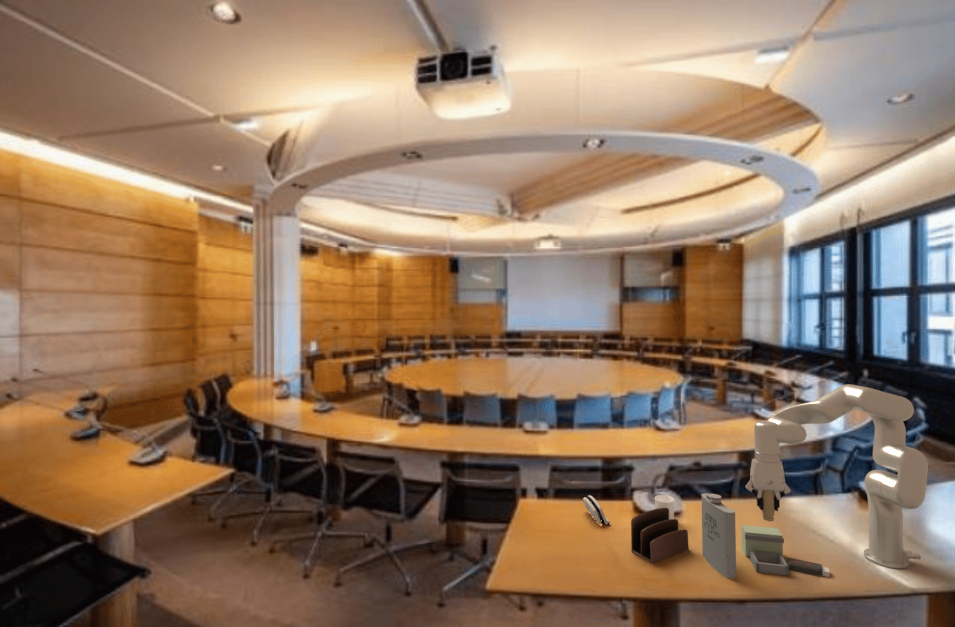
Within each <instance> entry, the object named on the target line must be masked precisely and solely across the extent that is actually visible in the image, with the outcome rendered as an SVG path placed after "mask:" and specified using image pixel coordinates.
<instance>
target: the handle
mask: <svg viewBox="0 0 955 627" xmlns="http://www.w3.org/2000/svg"><path fill="white" fill-rule="evenodd" d="M767 484H773V481H772V480H771V481H770V483H768V482H767ZM761 496H762V499H763V510H761V512H762V519H763V520H764V521H766V522H774V521H775V518H774V517H775V512H776V511H775V505H774V504H775V503H774V496H775V495H774V491H770V490H762V495H761Z"/></svg>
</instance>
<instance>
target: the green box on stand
mask: <svg viewBox="0 0 955 627" xmlns="http://www.w3.org/2000/svg"><path fill="white" fill-rule="evenodd" d="M783 536H784V535H783V534H782V533H781V531H780V530H779V529H778V528H777V527H766V526H755V525H745V524H742V525H741V549H742V552H743V554H744V556H745V557H747V558H749V560H750V561H751V565H752V566H753V567H754V570H755V572H757V573H762V572H763V573H764V574H772V575H781V576H790V570H789V566H788V564H787V562H786V561H787V560H786V559H785V558H784V548H783V546H784V545H783V544H784V543H785V538H784V537H783Z"/></svg>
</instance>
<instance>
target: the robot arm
mask: <svg viewBox="0 0 955 627" xmlns="http://www.w3.org/2000/svg"><path fill="white" fill-rule="evenodd" d="M854 410H855V411H859V412H862V413H863V412H864V413H867V415H869V417H870V419H871V420H872V421H873V425H874V438H873V445H872V446H873V447H872V459H873V461H874V462H875V463H876V464H877V465H878V466H880V467H882V468H885V469H887V470H890V471H893V472H896V473H897V474H895V473H893V472H890V471H887V470H883V469H873V470H870V471H868V473H866V475H865V476H864V487H865V489H864V490H865V492H866V495H867V504H868V505H867V506H868V548H865V549H864V550H863V556H864V557H865V558H866V559H867V560H868V559H869V561H870V562H872V563H874V564H876V563H877V565H880V566H883V567H887V568H891V569H907V568H909V567H910V560H911V559H912V560H921V559H922V557H921V554H920V553H917V552H912V551H913V550H907V549H904V514H903V508H905V509H906V510H907V509H908V510H916V509H919V507H921V506H922V505H923V503H924V502H925V499H926V492H927V482H928V472H929V464H928V463H929V462H928V460H927V458H926V456H925V455H924V454H923V453H922V452H921V451H919V450H918V449H916V448H913V447H910V446H907V445H906V435H907V432H906V431H907V430H906V425H905V421H908V420H909V419H911V418H912V416H914V412H915V408H914V406H913V403H912V402H911V401H910V400H909V399H908V398H906V397H903V396H899V395H897V394H893V393H889V392H886V391H881V390H879V389H875V388H872V387H871V388H870V387H868V386H861V385H856V384H851V383H850V384H847V383H846V384H843V385H839V386H838V387H836V388H835V389H832V390H831V391H830V392H828V393H826V394H824V395H822V396H820V397H819V398H817V399H815V400H813V401H810V402H805V403H801V404H797V405H792V406H789V407H786V408H785V409H782V410H780V411H778V412H776V413H774V414H773V415H772V416H770V417H769V418H768V419H767V420H758V421H756V422H755V423H754V425H753V426H754V428H753V432H754V433H753V434H754V436H753V438H754V458H752V459H751V464H750V472H749V473H750V475H749V476H750V478H749V481H748V482H747V483H746V485H745V488H746V490H748V491H750V492H751V493H752V494H753V495H754V496H756V506H757V507H758V508H759V510H760V511H762V510H763V499H762V490H770V491H774V503H775V504H774V505H775V512H779V509H780V505H781V504H780V503H781V502H780V501H781V500H782V498H783V497H784V496H785V495H787V494H789V493H791V491H792V490H791V488H790V487H789V486H788V484H787V483H786V480H785V471H784V466H783V462H782V461H781V459H784V460H785V454H782V453H780V444H787V445H798V444H801V443H803V442H804V441H805V440H806V438H807V436H808V435H807V430H806V429H805V427H803V426H802V425H808V424H809V425H810V424H813V425H819V424H820V425H821V424H823V425H824V424H830V423H833V422H834V421H836V420H838V419H839V418H841V417H843V416H845V415H847V414H848V413H849V414H850V413H851V412H852V411H854ZM771 480H772V481H773V484H767V482H768V483H770V481H771Z"/></svg>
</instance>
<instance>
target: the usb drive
mask: <svg viewBox="0 0 955 627" xmlns="http://www.w3.org/2000/svg"><path fill="white" fill-rule="evenodd" d="M786 561H787V562H786V563H787V564H788V566H789V571H794V572H799V573H803V574H808V575H812V576H816V577H823V576H824V577H827V578H830V576H831V575H830V568H829V567H827V566H823V565H822V564H821V563H815V562H811V561H807V560H804V559H803V560H801V559H797V558H792V557H788V558H787V560H786Z"/></svg>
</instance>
